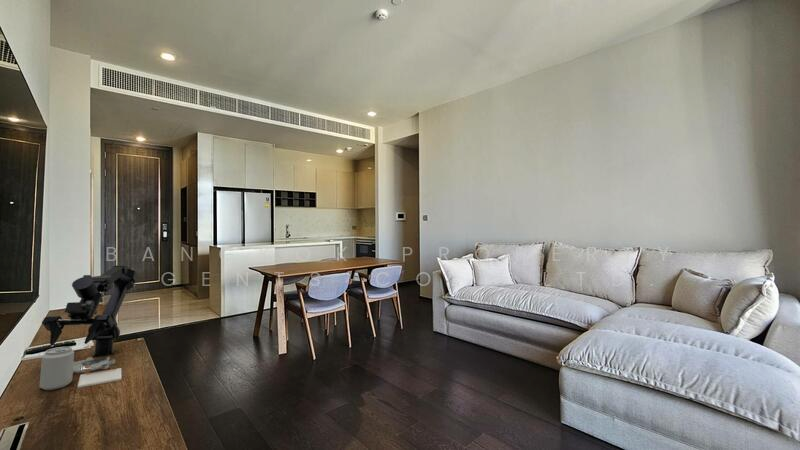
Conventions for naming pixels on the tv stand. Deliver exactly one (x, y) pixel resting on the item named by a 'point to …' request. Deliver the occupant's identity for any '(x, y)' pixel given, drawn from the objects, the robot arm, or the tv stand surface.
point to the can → (56, 368)
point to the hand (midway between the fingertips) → (68, 344)
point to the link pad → (99, 377)
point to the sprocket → (92, 364)
